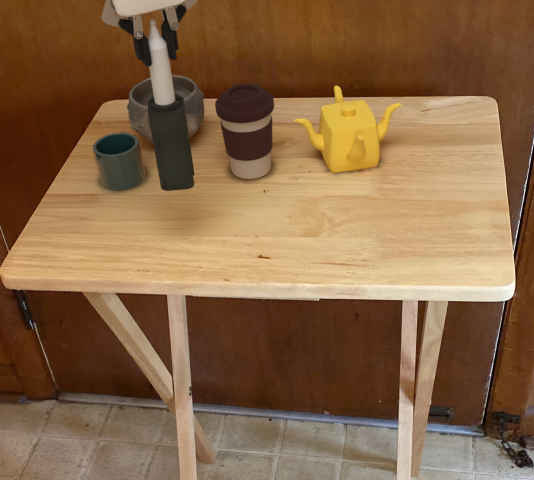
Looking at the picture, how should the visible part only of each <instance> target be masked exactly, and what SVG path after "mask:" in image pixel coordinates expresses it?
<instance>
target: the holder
mask: <svg viewBox="0 0 534 480" xmlns="http://www.w3.org/2000/svg"><path fill="white" fill-rule="evenodd" d="M92 153H93V156H94V160H95V164H96V169H97V172H98V177H99V179H100V181H101V185H102V186H103V188H105V189H107V190H111V191H127V190H130V189H134V188H135V187H137V186H139V185H141V184H142V183H143V182H144V181H145V179H146V171H145V169H146V168H145V164H144V160H143V155H142V150H141V146H140V140H139V138H138V137H137V136H136V135H134V134H132V133H130V132H113V133H109V134H106V135H104V136H101V137H100V138H98V139H97V140H96V141H94V142H93V144H92Z"/></svg>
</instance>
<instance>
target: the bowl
mask: <svg viewBox="0 0 534 480" xmlns="http://www.w3.org/2000/svg"><path fill="white" fill-rule="evenodd" d="M172 81H173V88H174V93H175V94H178V95H179V96H181V97H183V98H184V104H185V111H186V118H187V125H188V132H189V139H190V138H191V137H193V136H195V134H196V133H197V132H198V130H199V129H200V127H201V125H202V124H203V122H204V119H205V103H204V97H205V94H204V93H203V91H201V90H200V88H199V87H198V85H197V84H196V83H195V82H194V80H192V78H190V77H187V76H185V75H180V74H172ZM153 96H154V94H153V88H152V82H151V77H148V78H147V79H143V80H142V81H140V82H138V83H137V84H135V85H134V86H132V88H131V89H130V91H129V94H128V103H127V105H126V109H127V112H128V122H129V124H130V126H131V130H133V131H134V132H135V133H136V134H138V135H139V136H140V137H141V138H143V139H144V140H146V141H148V142H149V143H151V144H153V140H152V134H151V129H150V123H149V117H148V112H147V111H148V102H149V100H150V99H151V98H152V97H153Z"/></svg>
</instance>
